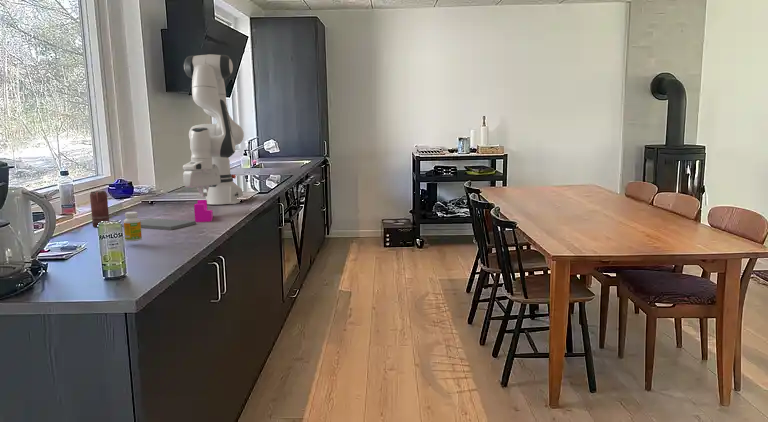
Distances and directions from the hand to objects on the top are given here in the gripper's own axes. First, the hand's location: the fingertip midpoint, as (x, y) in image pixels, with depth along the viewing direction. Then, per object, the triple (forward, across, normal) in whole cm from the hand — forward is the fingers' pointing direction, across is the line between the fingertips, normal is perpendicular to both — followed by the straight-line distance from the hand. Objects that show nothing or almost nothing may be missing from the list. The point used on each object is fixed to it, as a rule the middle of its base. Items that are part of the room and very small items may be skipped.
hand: (203, 196), depth 253 cm
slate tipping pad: (+9, +26, 0) cm, 28 cm away
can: (+9, +35, -22) cm, 43 cm away
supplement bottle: (+10, +53, +14) cm, 56 cm away
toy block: (+9, +8, +6) cm, 13 cm away
